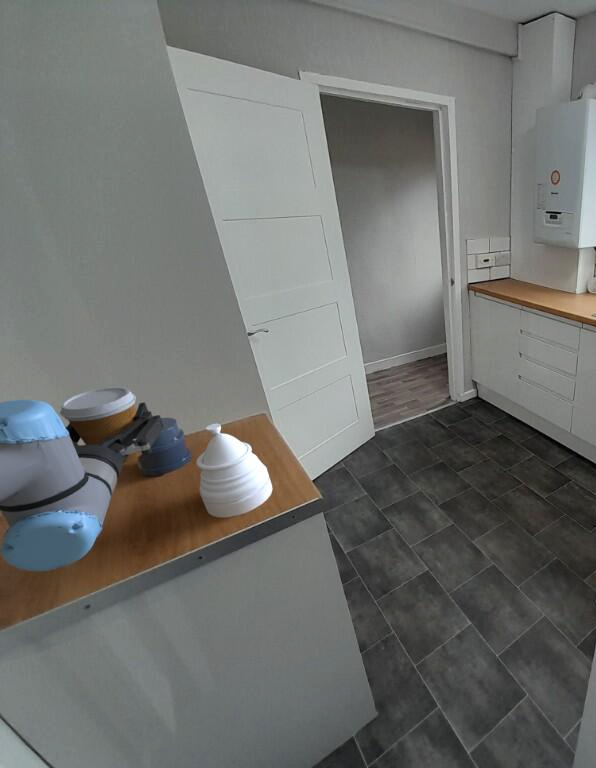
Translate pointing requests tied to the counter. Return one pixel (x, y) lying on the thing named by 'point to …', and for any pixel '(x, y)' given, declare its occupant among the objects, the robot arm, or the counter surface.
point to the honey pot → (231, 476)
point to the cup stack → (166, 451)
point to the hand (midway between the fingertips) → (113, 414)
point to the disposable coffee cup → (100, 414)
